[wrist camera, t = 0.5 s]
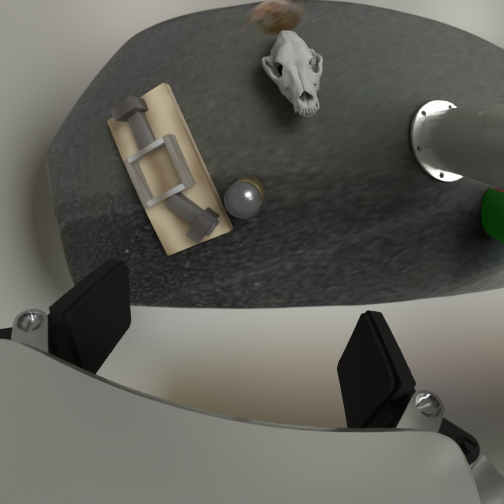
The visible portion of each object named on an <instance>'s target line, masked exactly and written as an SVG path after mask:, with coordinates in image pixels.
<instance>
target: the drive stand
mask: <svg viewBox="0 0 504 504" xmlns="http://www.w3.org/2000/svg"><path fill="white" fill-rule="evenodd" d="M111 112H112V115H113V117H112V118H111V119H109V120H108V121H107V122H108V125H109V127H110V130H111V132H112V135H113V137H114V140H115V142H116V145H117V147H118V150H119V152H120V155H121V157H122V159H123V162H124V164H125V167H126V169H127V171H128V174H129V176H130V178H131V180H132V183H133V185H134V187H135V189H136V191H137V194H138V196H139V198H140V200H141V202H142V204H143V207H144V209H145V211H146V213H147V215H148V217H149V219H150V221H151V223H152V225H153V227H154V229H155V231H156V233H157V235H158V237H159V239H160V241H161V243H162V245H163V247H164V249H165V251H166V253H167V255H168V256H169V255H171V254H174V253H176V252H179V251H181V250H184V249H186V248H189V247H191V246H194V245H196V244H199V243H201V242H204V241H206V240H209V239H212V238H214V237H217V236H219V235H222V234H224V233H227V232H230V231H231V229H232V228H233V226H232V224H231V222H230V219H229V217H228V215H227V213H226V211H225V208H224V206H223V204H222V202H221V200H220V197H219V195H218V193H217V191H216V188H215V186H214V184H213V182H212V180H211V177H210V175H209V173H208V171H207V169H206V166H205V164H204V162H203V160H202V157H201V155H200V153H199V151H198V148H197V146H196V144H195V142H194V140H193V137H192V135H191V133H190V131H189V128H188V126H187V124H186V122H185V119H184V117H183V115H182V113H181V110H180V108H179V106H178V104H177V101H176V99H175V97H174V95H173V92H172V90H171V88H170V85H168V84H166V83H162V84H161V85H159V86H157V87H156V88H154V89H153V90H151V91H149V92H148V93H146V94H145V95H143V96H142V97H140V98H138V97H134V96H129V97H127V98H126V99H125V100H123V101H122V102H120V103H119V104H118V105H116V106H115V107H114V108H112V109H111Z"/></svg>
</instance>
